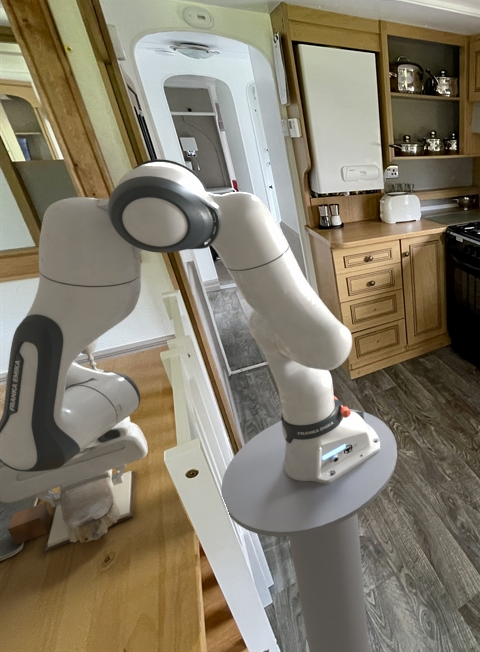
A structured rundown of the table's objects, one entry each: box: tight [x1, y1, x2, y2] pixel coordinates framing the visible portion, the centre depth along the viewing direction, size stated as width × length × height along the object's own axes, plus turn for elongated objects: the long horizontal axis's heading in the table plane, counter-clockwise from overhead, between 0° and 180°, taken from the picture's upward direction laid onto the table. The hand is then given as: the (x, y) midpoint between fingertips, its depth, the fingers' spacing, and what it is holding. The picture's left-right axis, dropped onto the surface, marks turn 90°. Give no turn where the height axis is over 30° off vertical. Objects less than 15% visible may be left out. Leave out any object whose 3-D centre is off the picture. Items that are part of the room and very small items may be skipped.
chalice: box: [80, 338, 106, 372], centre depth 115 cm, size 7×7×18 cm
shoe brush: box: [59, 469, 121, 543], centre depth 75 cm, size 24×8×5 cm, turn 47°
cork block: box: [7, 502, 52, 546], centre depth 70 cm, size 4×4×4 cm
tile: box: [44, 470, 136, 553], centre depth 76 cm, size 12×14×1 cm
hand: (90, 492), depth 75 cm, fingers closed on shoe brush, 7 cm apart
